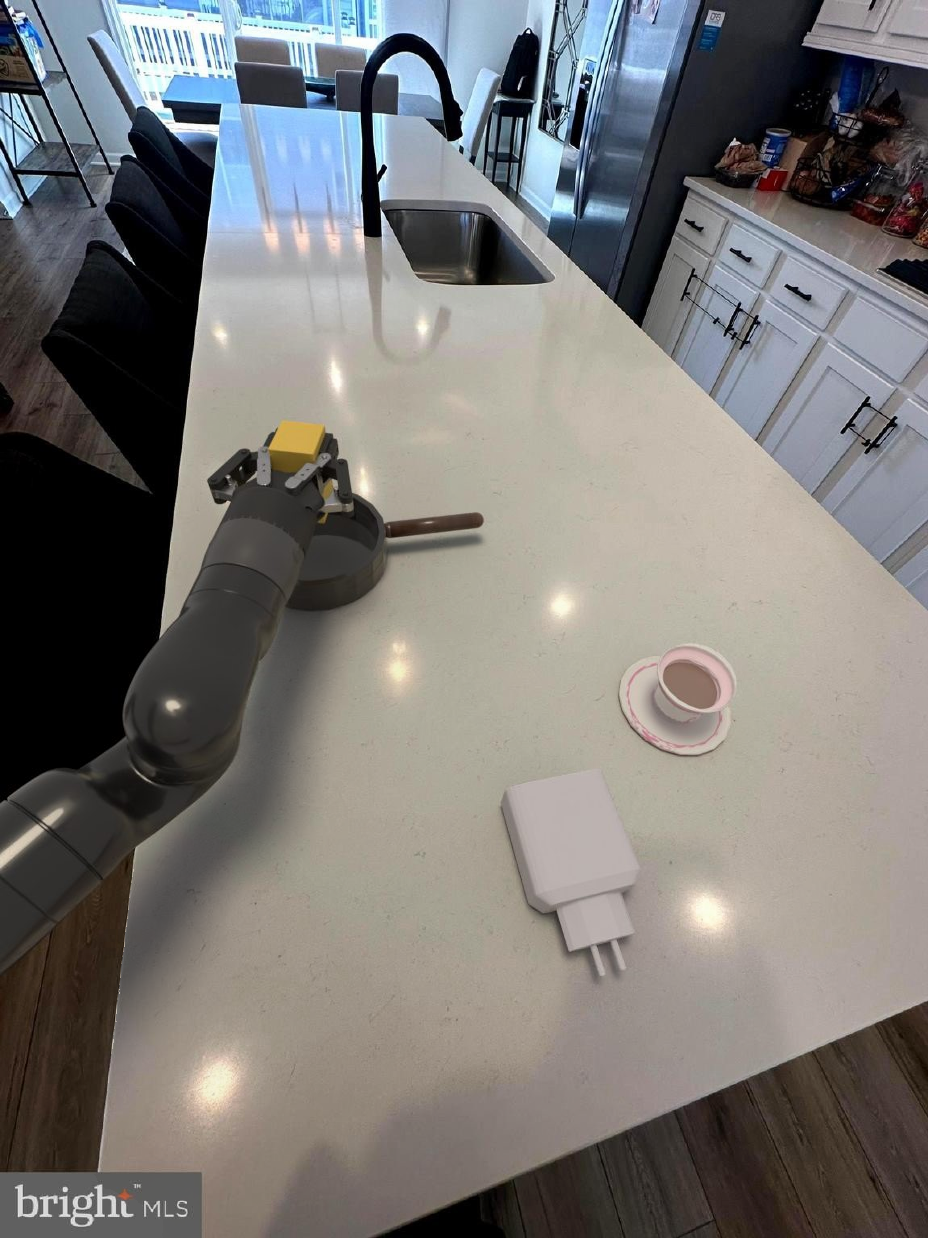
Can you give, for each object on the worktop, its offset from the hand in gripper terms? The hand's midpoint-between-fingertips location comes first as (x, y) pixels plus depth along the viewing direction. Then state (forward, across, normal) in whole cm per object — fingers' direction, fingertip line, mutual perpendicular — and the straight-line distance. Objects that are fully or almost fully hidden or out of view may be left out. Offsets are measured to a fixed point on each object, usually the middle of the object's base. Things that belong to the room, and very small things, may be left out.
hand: (306, 438), depth 59 cm
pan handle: (+2, +14, -13) cm, 19 cm away
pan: (-2, 0, -16) cm, 16 cm away
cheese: (-3, 0, -7) cm, 8 cm away
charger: (-37, +30, -16) cm, 50 cm away
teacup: (-18, +42, -16) cm, 48 cm away
